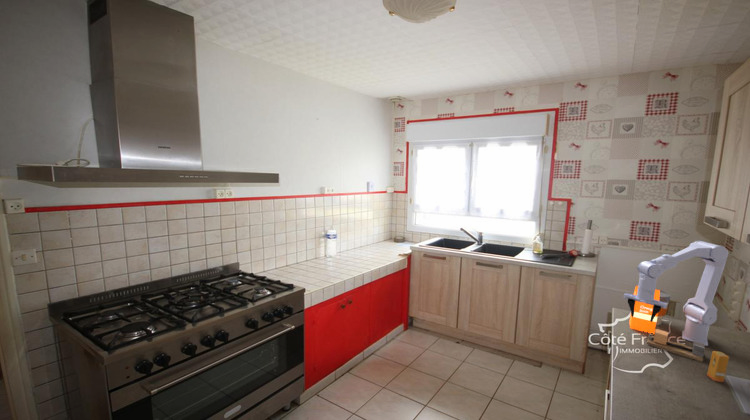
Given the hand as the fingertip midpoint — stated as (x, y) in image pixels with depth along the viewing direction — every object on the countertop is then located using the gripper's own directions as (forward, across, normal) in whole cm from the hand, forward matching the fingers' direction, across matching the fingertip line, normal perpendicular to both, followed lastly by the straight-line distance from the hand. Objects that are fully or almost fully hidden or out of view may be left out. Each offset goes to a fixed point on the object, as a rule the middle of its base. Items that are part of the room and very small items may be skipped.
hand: (641, 318), depth 141 cm
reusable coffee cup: (+10, +2, +25) cm, 27 cm away
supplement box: (+10, +23, -15) cm, 29 cm away
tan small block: (+8, +7, 0) cm, 11 cm away
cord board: (+9, +12, 0) cm, 15 cm away
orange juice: (+10, 0, +12) cm, 16 cm away
